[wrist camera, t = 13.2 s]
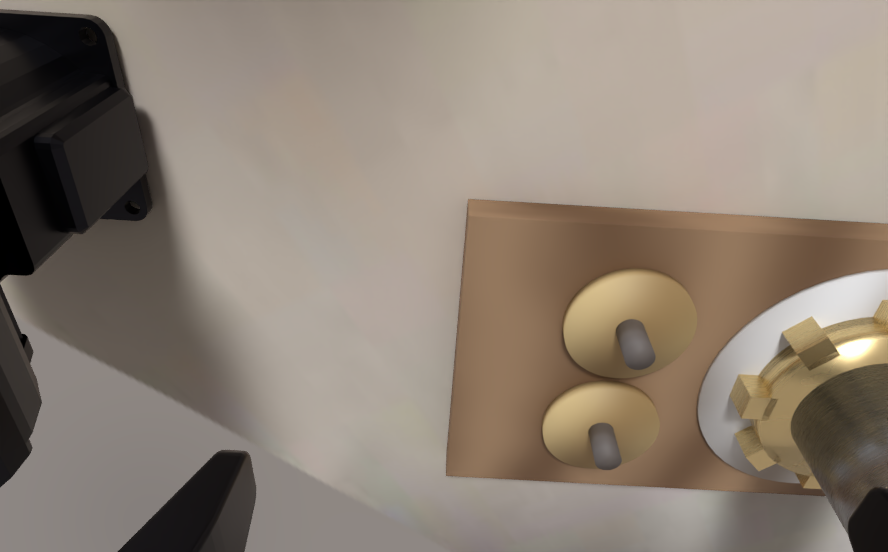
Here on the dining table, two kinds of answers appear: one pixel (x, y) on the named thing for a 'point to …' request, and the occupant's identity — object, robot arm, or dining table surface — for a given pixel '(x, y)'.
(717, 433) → the gear board
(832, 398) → the loose gear
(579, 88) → the dining table surface
